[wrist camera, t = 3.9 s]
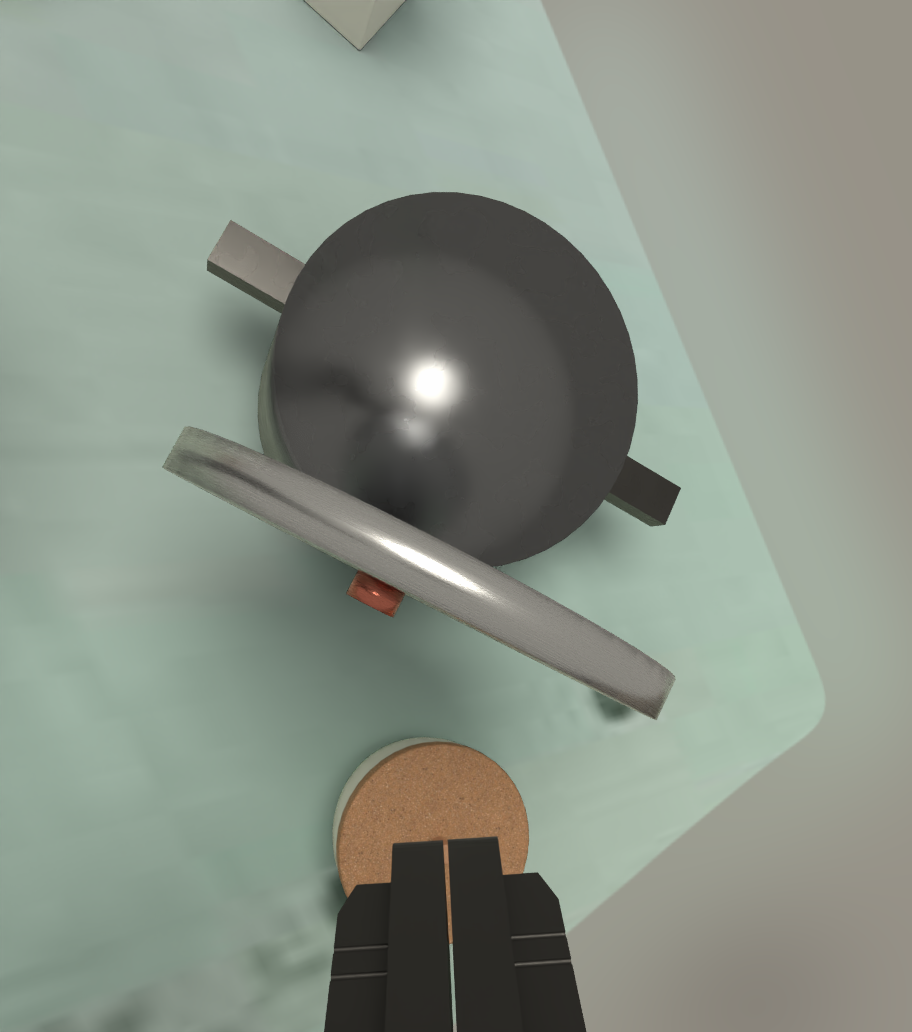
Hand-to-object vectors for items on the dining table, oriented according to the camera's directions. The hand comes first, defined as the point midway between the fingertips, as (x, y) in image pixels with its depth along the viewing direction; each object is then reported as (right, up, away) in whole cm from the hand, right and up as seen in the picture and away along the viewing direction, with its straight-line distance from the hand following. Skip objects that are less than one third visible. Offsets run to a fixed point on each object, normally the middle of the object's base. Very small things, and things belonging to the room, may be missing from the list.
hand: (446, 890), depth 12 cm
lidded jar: (-3, -13, +42) cm, 44 cm away
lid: (-1, +4, +21) cm, 22 cm away
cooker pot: (-2, +12, +44) cm, 45 cm away
